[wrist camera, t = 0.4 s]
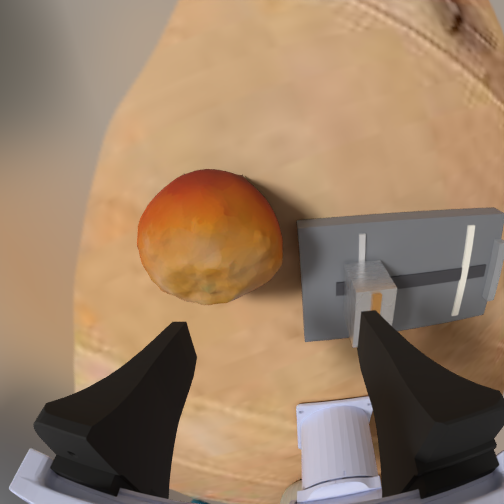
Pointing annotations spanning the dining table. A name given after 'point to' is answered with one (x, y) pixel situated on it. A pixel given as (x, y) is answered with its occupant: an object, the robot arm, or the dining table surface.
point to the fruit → (209, 238)
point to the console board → (402, 265)
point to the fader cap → (367, 294)
